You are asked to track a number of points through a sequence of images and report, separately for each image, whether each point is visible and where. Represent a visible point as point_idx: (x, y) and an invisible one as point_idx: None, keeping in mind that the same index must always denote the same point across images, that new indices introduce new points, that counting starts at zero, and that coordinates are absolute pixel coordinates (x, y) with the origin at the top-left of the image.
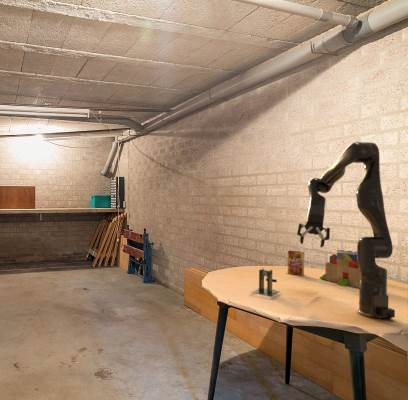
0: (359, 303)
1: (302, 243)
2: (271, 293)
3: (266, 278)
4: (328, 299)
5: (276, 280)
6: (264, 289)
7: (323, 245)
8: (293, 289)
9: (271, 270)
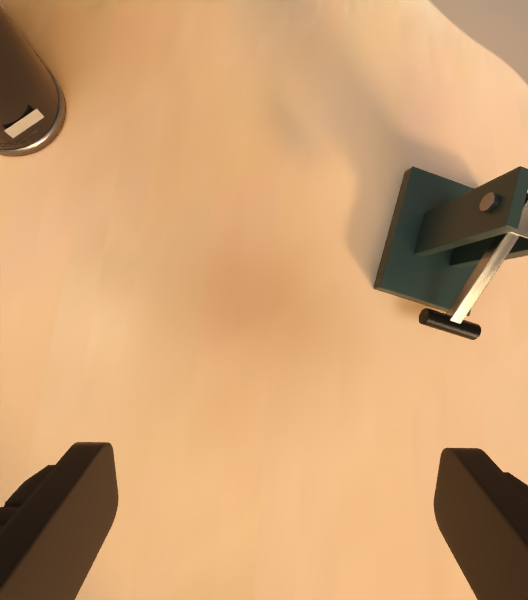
0: (42, 77)
1: (453, 448)
2: (415, 223)
3: (479, 327)
4: (162, 300)
5: (424, 318)
6: (447, 290)
7: (38, 477)
8: (311, 431)
9: (509, 206)
